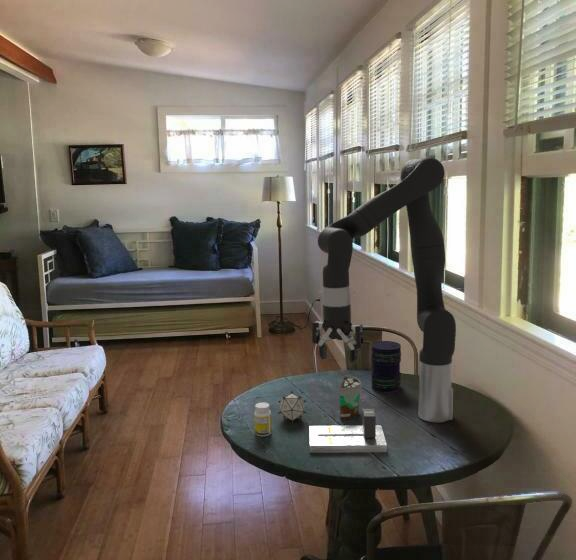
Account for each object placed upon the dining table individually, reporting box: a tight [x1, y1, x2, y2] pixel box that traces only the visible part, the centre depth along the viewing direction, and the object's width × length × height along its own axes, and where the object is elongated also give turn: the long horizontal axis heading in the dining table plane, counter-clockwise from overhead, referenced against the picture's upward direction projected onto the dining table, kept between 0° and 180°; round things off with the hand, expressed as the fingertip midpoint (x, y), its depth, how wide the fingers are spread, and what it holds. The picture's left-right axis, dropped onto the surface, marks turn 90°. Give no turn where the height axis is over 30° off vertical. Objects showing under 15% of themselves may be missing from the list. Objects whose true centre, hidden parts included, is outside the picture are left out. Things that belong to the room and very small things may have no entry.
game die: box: [277, 390, 307, 424], centre depth 171 cm, size 9×8×10 cm
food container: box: [339, 374, 363, 420], centre depth 174 cm, size 12×6×10 cm, turn 168°
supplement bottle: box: [253, 401, 273, 437], centre depth 162 cm, size 5×5×8 cm
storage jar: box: [370, 340, 402, 394], centre depth 194 cm, size 10×10×15 cm
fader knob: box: [361, 408, 377, 438], centre depth 155 cm, size 3×5×6 cm, turn 178°
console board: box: [308, 424, 388, 454], centre depth 156 cm, size 20×12×2 cm, turn 88°
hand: (338, 360), depth 158 cm, fingers open, 8 cm apart
